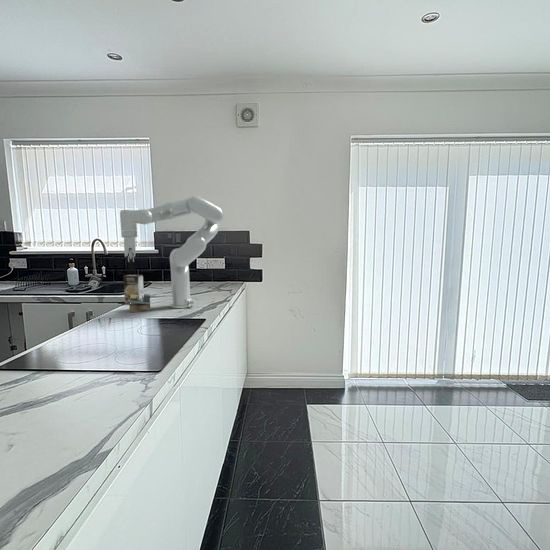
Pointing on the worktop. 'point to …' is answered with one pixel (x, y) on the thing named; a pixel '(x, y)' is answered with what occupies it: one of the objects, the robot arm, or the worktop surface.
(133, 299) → the instrument plate
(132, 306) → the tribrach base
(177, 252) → the robot arm
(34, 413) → the worktop surface
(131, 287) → the coffee box
